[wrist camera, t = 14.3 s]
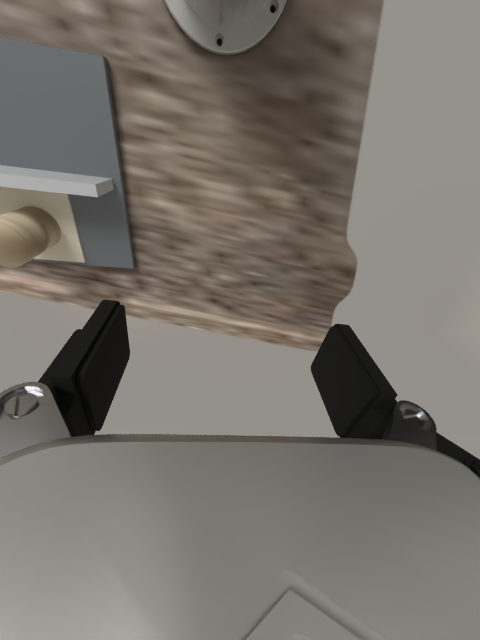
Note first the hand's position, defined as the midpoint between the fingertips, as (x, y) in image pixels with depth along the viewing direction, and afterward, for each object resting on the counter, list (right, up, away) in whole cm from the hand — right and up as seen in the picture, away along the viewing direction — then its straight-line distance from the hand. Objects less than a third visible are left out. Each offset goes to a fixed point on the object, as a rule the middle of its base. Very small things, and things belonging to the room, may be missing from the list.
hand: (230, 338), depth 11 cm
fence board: (-25, +18, +18) cm, 36 cm away
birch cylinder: (-26, +13, +20) cm, 35 cm away
